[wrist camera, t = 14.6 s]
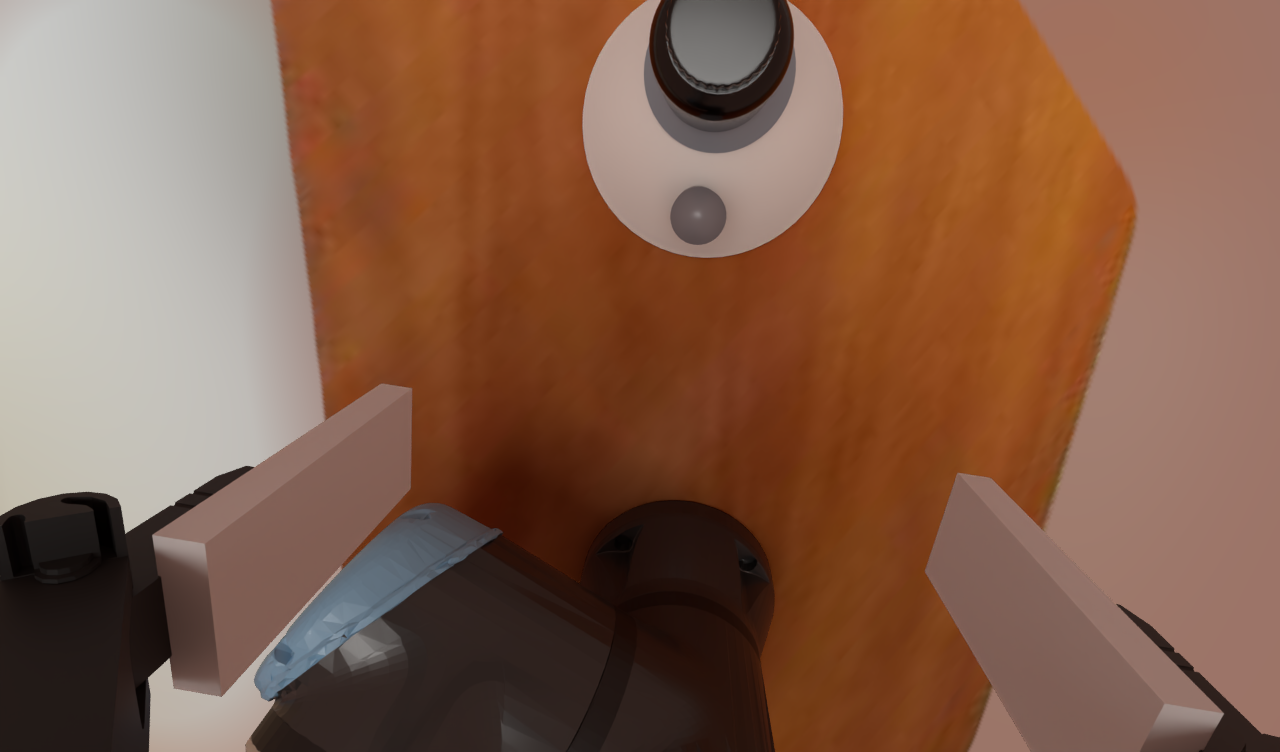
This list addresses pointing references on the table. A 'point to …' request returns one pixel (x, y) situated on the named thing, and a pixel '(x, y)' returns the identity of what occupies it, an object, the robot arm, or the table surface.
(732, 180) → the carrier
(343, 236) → the table surface
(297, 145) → the table surface
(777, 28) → the supplement bottle
